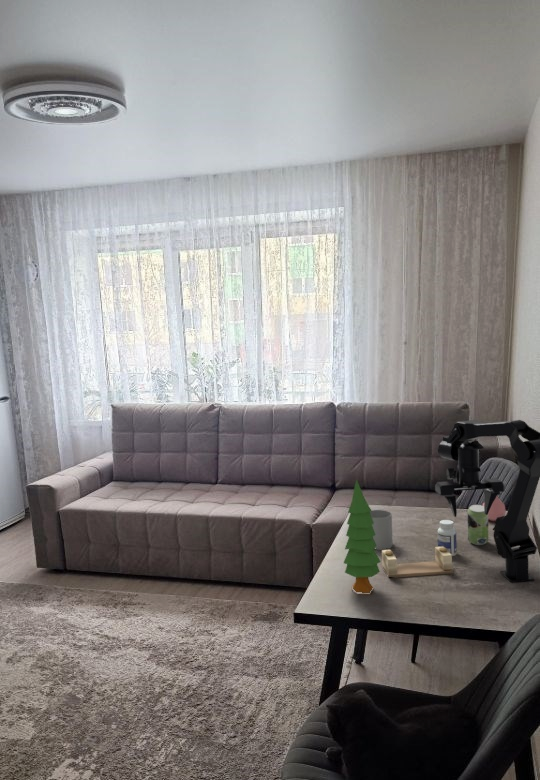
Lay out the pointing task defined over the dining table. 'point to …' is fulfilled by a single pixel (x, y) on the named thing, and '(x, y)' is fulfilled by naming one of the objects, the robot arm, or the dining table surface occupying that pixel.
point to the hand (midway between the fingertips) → (470, 515)
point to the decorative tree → (361, 543)
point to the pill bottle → (447, 536)
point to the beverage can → (477, 525)
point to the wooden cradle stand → (409, 567)
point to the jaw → (443, 558)
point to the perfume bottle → (496, 509)
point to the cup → (382, 528)
